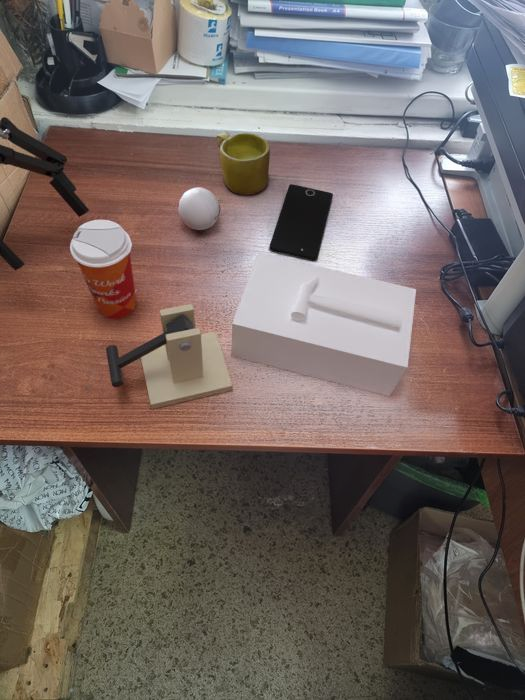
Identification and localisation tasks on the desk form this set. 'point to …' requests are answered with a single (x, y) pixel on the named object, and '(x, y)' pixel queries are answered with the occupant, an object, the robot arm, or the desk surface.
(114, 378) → the black lever
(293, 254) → the cell phone
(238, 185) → the mug
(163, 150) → the desk surface
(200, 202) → the white sphere
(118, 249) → the coffee cup
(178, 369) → the lever base
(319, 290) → the hammer on box
